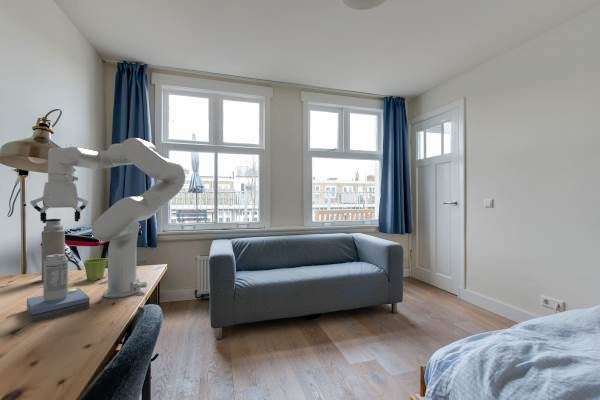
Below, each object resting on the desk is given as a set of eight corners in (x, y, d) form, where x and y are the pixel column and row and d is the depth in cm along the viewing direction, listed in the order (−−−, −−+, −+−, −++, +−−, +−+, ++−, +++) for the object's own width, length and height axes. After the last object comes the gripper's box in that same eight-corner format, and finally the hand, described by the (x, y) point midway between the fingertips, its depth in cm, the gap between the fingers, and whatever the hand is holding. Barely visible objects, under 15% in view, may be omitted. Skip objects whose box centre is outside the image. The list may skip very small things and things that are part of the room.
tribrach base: (79, 297, 100) (79, 292, 100) (89, 307, 91) (89, 302, 91) (26, 309, 89) (26, 304, 89) (32, 322, 80) (32, 316, 80)
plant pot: (88, 276, 127) (88, 258, 127) (110, 275, 130) (111, 257, 130) (78, 282, 118) (78, 263, 118) (103, 280, 121) (103, 261, 121)
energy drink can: (68, 295, 93) (69, 252, 93) (66, 300, 88) (67, 255, 88) (45, 298, 89) (45, 254, 89) (41, 304, 84) (42, 258, 84)
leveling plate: (79, 292, 100) (79, 286, 100) (89, 301, 91) (89, 295, 91) (26, 303, 89) (26, 296, 89) (32, 314, 80) (32, 308, 80)
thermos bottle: (40, 278, 123) (40, 218, 122) (63, 275, 129) (63, 217, 129) (42, 282, 118) (42, 219, 117) (66, 278, 124) (66, 218, 123)
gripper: (85, 180, 114) (85, 220, 114) (29, 178, 101) (29, 222, 101) (90, 180, 109) (90, 221, 110) (31, 177, 96) (31, 224, 96)
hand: (61, 222), depth 105 cm, fingers open, 9 cm apart
